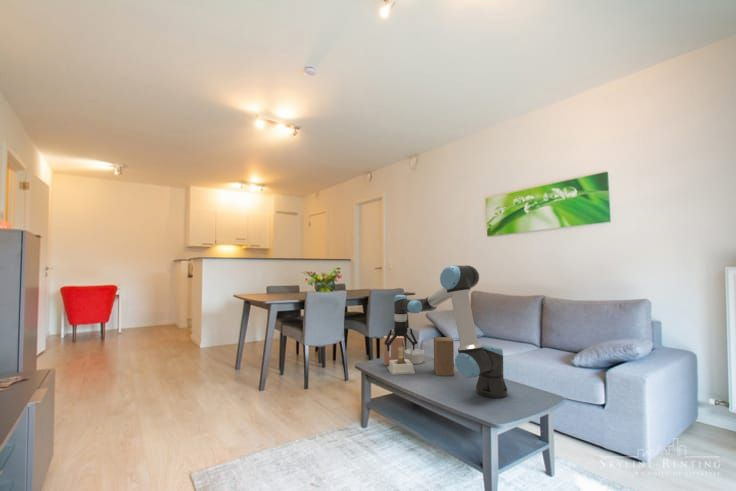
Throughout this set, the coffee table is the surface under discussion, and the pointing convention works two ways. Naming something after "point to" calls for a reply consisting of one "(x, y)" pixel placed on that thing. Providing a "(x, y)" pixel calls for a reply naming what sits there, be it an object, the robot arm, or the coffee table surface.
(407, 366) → the socket
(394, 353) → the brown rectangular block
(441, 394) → the coffee table surface
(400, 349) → the peg
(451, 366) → the wooden block
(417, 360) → the ramekin
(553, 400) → the coffee table surface
